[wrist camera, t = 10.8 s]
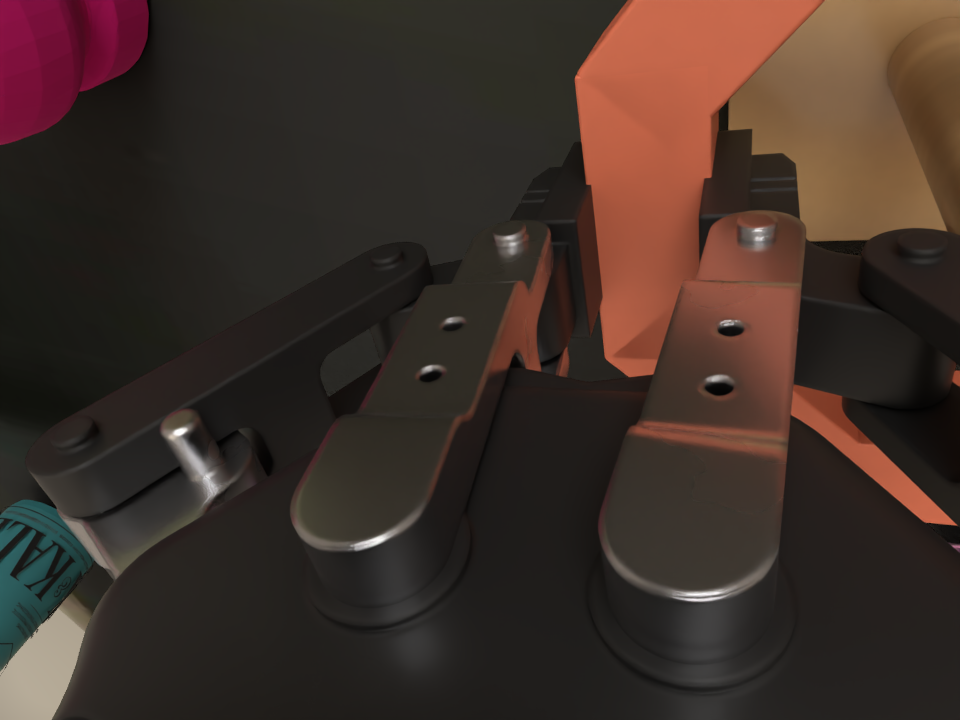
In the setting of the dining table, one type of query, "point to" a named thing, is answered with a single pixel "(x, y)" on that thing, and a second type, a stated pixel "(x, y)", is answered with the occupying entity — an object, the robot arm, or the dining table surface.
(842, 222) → the peg stand
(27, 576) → the beverage bottle
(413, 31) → the dining table surface
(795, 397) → the ring
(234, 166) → the dining table surface
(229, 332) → the robot arm
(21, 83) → the pepper mill
